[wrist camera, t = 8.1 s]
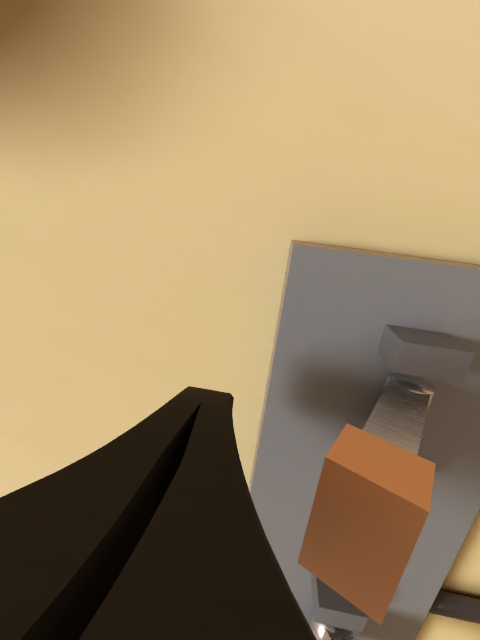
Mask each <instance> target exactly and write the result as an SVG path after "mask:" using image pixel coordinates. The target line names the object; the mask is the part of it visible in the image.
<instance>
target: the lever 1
mask: <svg viewBox="0 0 480 640" xmlns="http://www.w3.org/2000/svg"><path fill="white" fill-rule="evenodd" d="M310 628H311V630H312V632H313V634H314V635H315V637H316V639H317V640H359V638H358V637H357V635H356V633H355V631H351V630H346V629H342V628H338V627H333V626H329V625H325V624H320V623H316V622H314V615H313V618H312V621H311V625H310Z"/></svg>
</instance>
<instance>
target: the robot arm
mask: <svg viewBox="0 0 480 640" xmlns="http://www.w3.org/2000/svg"><path fill="white" fill-rule="evenodd" d="M233 400H234V398H233V396H232V395H231V394H230V393H225V392H219V391H213V390H207V389H202V388H196V387H190V386H189V387H187V388H186V389H184V390H183V391H182V392H180V393H179V394H178V395H176V396H175V397H174V398H172V399H171V400H170V401H169V402H167V403H166V404H165V405H163V406H162V407H161V408H159V409H158V410H157V411H155V412H154V413H152V414H151V415H150V416H148V417H147V418H146V419H144V420H143V421H141V422H140V423H139V424H137V425H136V426H134V427H133V428H131V429H130V430H128V431H127V432H125V433H123V434H122V435H120V436H119V437H117V438H116V439H114V440H113V441H111V442H110V443H108V444H106V445H105V446H103V447H101V448H100V449H98V450H96V451H94V452H93V453H91V454H89V455H87V456H86V457H84V458H82V459H80V460H78V461H76V462H74V463H72V464H71V465H69V466H67V467H65V468H63V469H61V470H59V471H57V472H55V473H53V474H51V475H49V476H46V477H44V478H42V479H40V480H38V481H36V482H33V483H31V484H29V485H27V486H25V487H23V488H20V489H18V490H16V491H14V492H12V493H10V494H7V495H5V496H3V497H1V498H0V640H317V639H316V637H315V635H314V634H313V632H312V630H311V628H310V626H309V624H308V622H307V620H306V618H305V616H304V614H303V612H302V610H301V608H300V606H299V605H298V603H297V601H296V599H295V597H294V595H293V593H292V591H291V589H290V587H289V585H288V582H287V580H286V578H285V576H284V574H283V572H282V569H281V567H280V565H279V563H278V561H277V559H276V556H275V554H274V552H273V550H272V548H271V546H270V544H269V541H268V539H267V537H266V534H265V532H264V529H263V527H262V524H261V522H260V519H259V517H258V514H257V512H256V509H255V506H254V503H253V501H252V498H251V495H250V492H249V489H248V486H247V483H246V480H245V476H244V473H243V469H242V465H241V462H240V458H239V454H238V449H237V444H236V439H235V434H234V427H233V418H232V407H233Z"/></svg>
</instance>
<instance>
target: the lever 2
mask: <svg viewBox="0 0 480 640" xmlns="http://www.w3.org/2000/svg"><path fill="white" fill-rule="evenodd" d="M434 393H435V388H434V386H433V385H432V384H430V383H429V382H428V381H426V380H424V379H422V378H420V377H418V376H412V375H406V374H400V373H394V372H391V373H389V374H388V377H387V381H386V384H385V387H384V390H383V392H382V394H381V396H380V398H379V400H378V402H377V403H376V405H375V407H374V409H373V411H372V413H371V415H370V416H369V418H368V420H367V422H366V424H365V426H364V428H363V429H362V430H361V429H358V428H356V427H354V426H352V425H350V424H348V423H347V424H346V425H345V427H344V428H343V430H342V431H341V433H340V435H339V436H338V438H337V439H336V441H335V442H334V444H333V445H332V447H331V448H330V450H329V452H328V453H327V455H326V456H325V459H324V463H323V467H322V471H321V475H320V479H319V482H318V486H317V490H316V494H315V498H314V501H313V505H312V509H311V513H310V517H309V520H308V524H307V528H306V532H305V536H304V540H303V543H302V547H301V551H300V555H299V559H298V562H297V563H298V564H300V565H301V566H302V567H304V568H305V569H306V570H308V571H309V572H310V573H312V574H313V575H314V576H316V577H317V578H318V579H320V580H321V581H322V582H324V583H325V584H326V585H328V586H329V587H330V588H332V589H333V590H334V591H336V592H337V593H338V594H340V595H341V596H342V597H344V598H345V599H346V600H348V601H349V602H350V603H352V604H353V605H354V606H355V607H357V608H358V609H359V610H361V611H362V612H363V613H365V614H366V615H367V616H369V617H370V618H371V619H373V620H374V621H375V622H377V623H378V624H379V625H381V624H382V622H383V619H384V617H385V615H386V612H387V610H388V608H389V605H390V603H391V601H392V598H393V596H394V594H395V591H396V589H397V587H398V584H399V582H400V580H401V577H402V575H403V573H404V570H405V568H406V566H407V563H408V561H409V559H410V557H411V554H412V552H413V550H414V547H415V545H416V543H417V540H418V538H419V536H420V533H421V531H422V529H423V526H424V524H425V522H426V519H427V517H428V515H429V512H430V505H431V497H432V489H433V481H434V473H435V465H436V464H435V463H433V462H431V461H429V460H426V459H424V458H422V457H420V456H418V455H417V454H418V450H419V445H420V441H421V436H422V431H423V427H424V422H425V418H426V414H427V411H428V409H429V406H430V403H431V401H432V398H433V395H434Z"/></svg>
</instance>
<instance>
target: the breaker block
mask: <svg viewBox="0 0 480 640" xmlns="http://www.w3.org/2000/svg"><path fill="white" fill-rule="evenodd" d="M391 372H394V373H400V374H406V375H412V376H418V377H420V378H422V379H424V380H426V381H428V382H429V383H430V384H432V385H433V386H434V388H435V393H434V395H433V398H432V401H431V403H430V406H429V409H428V411H427V414H426V418H425V422H424V427H423V431H422V436H421V441H420V445H419V450H418V454H417V455H418V456H420V457H422V458H424V459H426V460H429V461H431V462H433V463H435V464H436V465H435V473H434V481H433V489H432V497H431V505H430V512H429V515H428V517H427V519H426V522H425V524H424V526H423V529H422V531H421V533H420V536H419V538H418V540H417V543H416V545H415V547H414V550H413V552H412V554H411V557H410V559H409V561H408V563H407V566H406V568H405V570H404V573H403V575H402V577H401V580H400V582H399V584H398V587H397V589H396V591H395V594H394V596H393V598H392V601H391V603H390V605H389V608H388V610H387V612H386V615H385V617H384V619H383V622H382V624H381V625H379V624H378V623H377V622H375V621H374V620H373V619H371V618H370V617H369V616H367V615H366V614H365V613H363V612H362V611H361V610H359V609H358V608H357V607H355V606H354V605H353V604H352V603H350V602H349V601H348V600H346V599H345V598H344V597H342V596H341V595H340V594H338V593H337V592H336V591H334V590H333V589H332V588H330V587H329V586H328V585H326V584H325V583H324V582H322V581H321V580H320V579H318V578H317V577H316V576H314V575H313V574H312V573H310V572H309V571H308V570H306V569H305V568H304V567H302V566H301V565H300V564H298V563H297V562H298V559H299V555H300V551H301V547H302V543H303V540H304V536H305V532H306V528H307V524H308V520H309V517H310V513H311V509H312V505H313V501H314V498H315V494H316V490H317V486H318V482H319V479H320V475H321V471H322V467H323V463H324V459H325V456H326V455H327V453H328V452H329V450H330V448H331V447H332V445H333V444H334V442H335V441H336V439H337V438H338V436H339V435H340V433H341V431H342V430H343V428H344V427H345V425H346V424H347V423H348V424H350V425H352V426H354V427H356V428H358V429H361V430H362V429H363V428H364V426H365V424H366V422H367V420H368V418H369V416H370V415H371V413H372V411H373V409H374V407H375V405H376V403H377V402H378V400H379V398H380V396H381V394H382V392H383V390H384V387H385V384H386V381H387V377H388V374H389V373H391ZM249 492H250V495H251V498H252V501H253V503H254V506H255V509H256V512H257V514H258V517H259V519H260V522H261V524H262V527H263V529H264V532H265V534H266V537H267V539H268V541H269V544H270V546H271V548H272V550H273V552H274V554H275V556H276V559H277V561H278V563H279V565H280V567H281V569H282V572H283V574H284V576H285V578H286V580H287V582H288V585H289V587H290V589H291V591H292V593H293V595H294V597H295V599H296V601H297V603H298V605H299V606H300V608H301V610H302V612H303V614H304V616H305V618H306V620H307V622H308V624H309V626H310V625H311V621H312V618H313V615H314V622H316V623H320V624H325V625H329V626H333V627H338V628H342V629H346V630H351V631H355V633H356V635H357V637H358V638H359V640H415V638H416V636H417V634H418V632H419V630H420V628H421V626H422V624H423V622H424V620H425V618H426V616H427V614H428V612H429V613H433V614H438V615H442V616H447V617H451V618H456V619H460V620H465V621H469V622H474V623H478V624H480V599H478V598H473V597H468V596H464V595H459V594H454V593H450V592H445V591H440V588H441V586H442V584H443V582H444V580H445V578H446V576H447V574H448V572H449V570H450V568H451V566H452V564H453V562H454V560H455V558H456V556H457V554H458V552H459V550H460V548H461V546H462V544H463V542H464V540H465V538H466V536H467V534H468V532H469V530H470V528H471V526H472V524H473V522H474V520H475V518H476V516H477V514H478V512H479V510H480V265H475V264H467V263H460V262H452V261H445V260H437V259H430V258H422V257H415V256H407V255H400V254H392V253H385V252H377V251H370V250H362V249H355V248H347V247H340V246H332V245H325V244H317V243H310V242H302V241H295V240H291V246H290V252H289V258H288V264H287V270H286V275H285V281H284V287H283V293H282V299H281V305H280V311H279V317H278V322H277V328H276V334H275V340H274V346H273V352H272V358H271V364H270V370H269V375H268V381H267V387H266V393H265V399H264V405H263V411H262V417H261V422H260V428H259V434H258V440H257V446H256V452H255V458H254V464H253V470H252V475H251V481H250V487H249Z"/></svg>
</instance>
